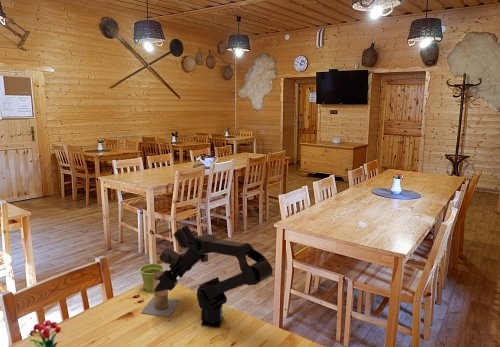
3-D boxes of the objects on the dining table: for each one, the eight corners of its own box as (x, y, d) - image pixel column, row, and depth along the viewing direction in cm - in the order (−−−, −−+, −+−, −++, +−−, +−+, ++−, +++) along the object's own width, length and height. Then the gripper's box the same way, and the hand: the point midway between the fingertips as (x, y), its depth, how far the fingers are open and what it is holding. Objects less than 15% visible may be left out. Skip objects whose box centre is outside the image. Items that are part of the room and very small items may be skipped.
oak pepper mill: (170, 303, 144) (169, 271, 142) (165, 310, 139) (164, 277, 137) (157, 302, 145) (156, 270, 142) (152, 309, 140) (151, 276, 138)
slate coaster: (180, 301, 147) (180, 300, 147) (169, 317, 136) (169, 316, 136) (152, 298, 148) (152, 297, 148) (140, 313, 138) (140, 312, 138)
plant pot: (158, 295, 151) (157, 274, 149) (135, 292, 152) (135, 271, 151) (167, 284, 160) (167, 264, 158) (146, 281, 162) (146, 262, 160)
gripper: (182, 234, 145) (154, 258, 149) (163, 252, 127) (133, 280, 131) (201, 255, 146) (174, 279, 149) (186, 277, 128) (155, 304, 131)
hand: (159, 284), depth 140 cm, fingers open, 9 cm apart
